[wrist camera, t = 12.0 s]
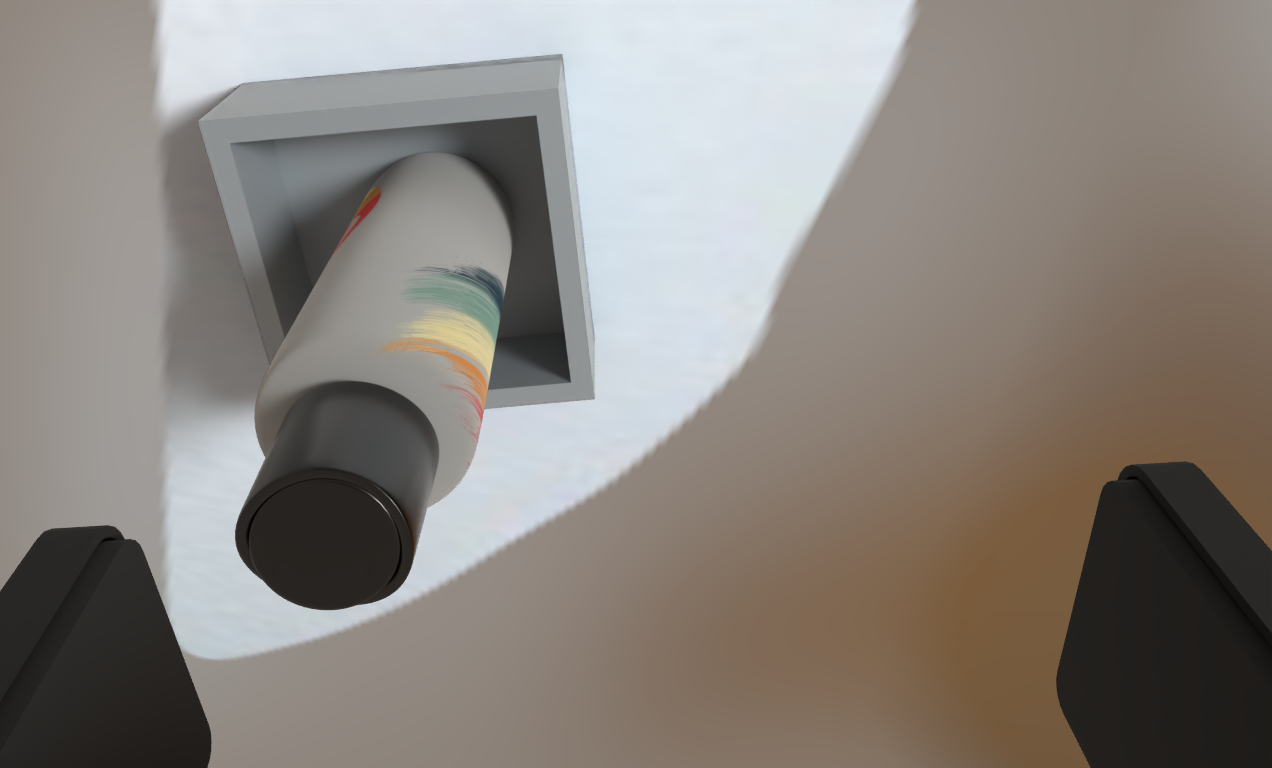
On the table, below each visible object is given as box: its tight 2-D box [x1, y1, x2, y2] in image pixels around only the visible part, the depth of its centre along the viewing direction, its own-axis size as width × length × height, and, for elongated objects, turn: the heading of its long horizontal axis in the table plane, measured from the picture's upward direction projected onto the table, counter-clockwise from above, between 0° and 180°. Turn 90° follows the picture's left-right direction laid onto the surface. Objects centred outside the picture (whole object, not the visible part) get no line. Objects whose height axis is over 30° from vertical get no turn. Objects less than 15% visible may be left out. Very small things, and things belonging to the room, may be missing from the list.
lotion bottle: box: [235, 152, 514, 610], centre depth 31 cm, size 6×6×20 cm
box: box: [198, 54, 595, 409], centre depth 38 cm, size 12×12×5 cm
